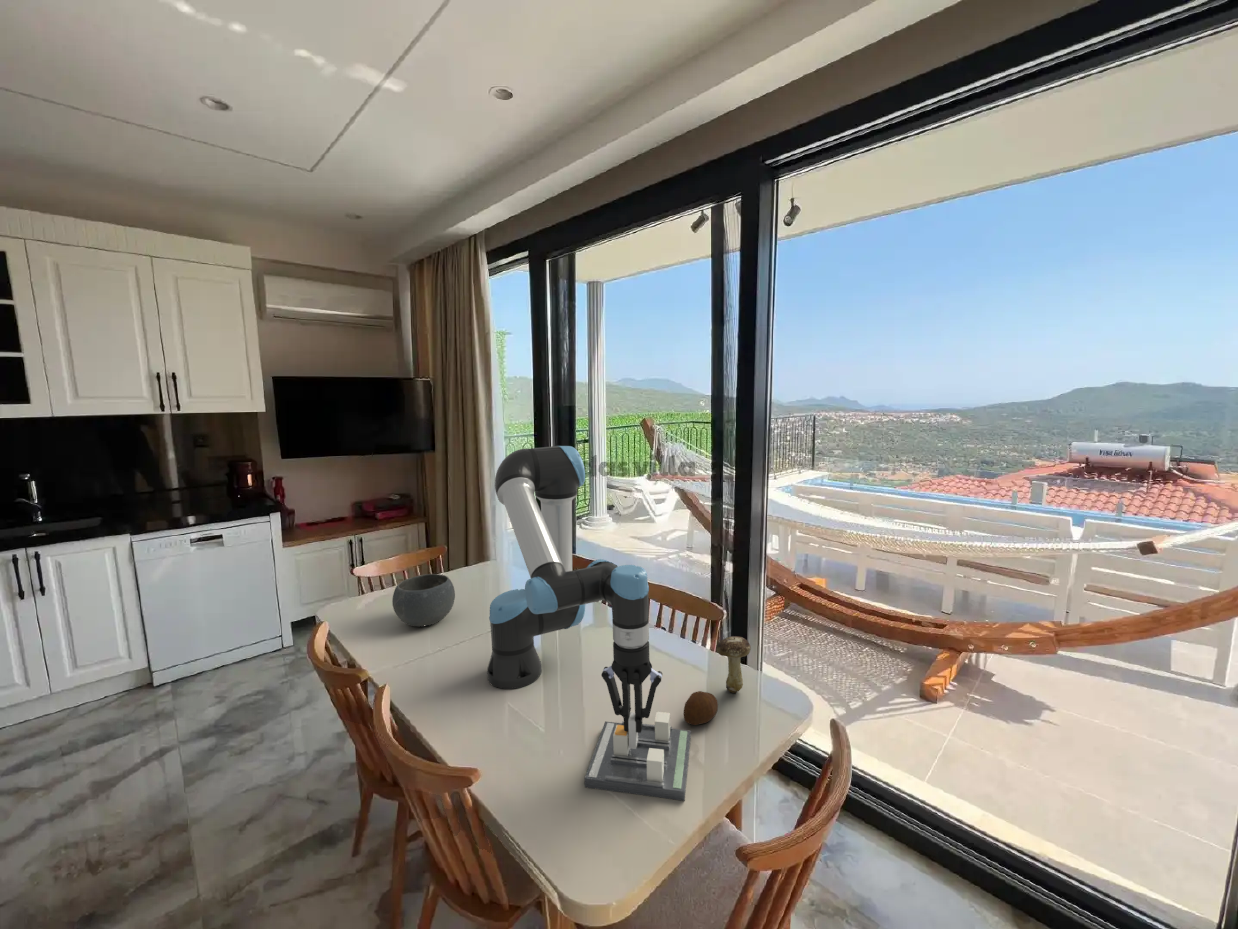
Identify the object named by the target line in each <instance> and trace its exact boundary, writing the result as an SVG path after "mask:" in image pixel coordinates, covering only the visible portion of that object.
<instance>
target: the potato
mask: <svg viewBox="0 0 1238 929" xmlns="http://www.w3.org/2000/svg"><path fill="white" fill-rule="evenodd" d="M718 708H719V704H718V700H717V697H715V695H714V694H713V693H710V692H705V691H702V690H699V691H695V692H693V693H691V694H690V695H689V697H688V698H687V700H686V701H685V703H684V708H683V713H682V714H683V719H684V721H685V722H686V723H687V724H688V725H692V726H697V725H702V724H707V723H708V722H710V721H711V720H713V718H714V717H715V716H716V715H717V712H718Z"/></svg>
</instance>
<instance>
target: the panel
mask: <svg viewBox="0 0 1238 929" xmlns="http://www.w3.org/2000/svg"><path fill="white" fill-rule="evenodd" d="M616 725H624V721H622V722H616V721H615V722H614V721H604V724H603V726H602V729H601V731H600V735H599V736H598V740H597V743H596V746H595V748H594V750H593V753H592V756H591V760H590V762H589V765H588V768H587V771H586V773H585V775H584V788H587V787H588V788H587V789H595V788H596V790H601V791H602V790H604V791H609V792H617V793H623V794H624V793H625V794H631V795H632V794H633V795H639V796H648V797H655V798H661V799H662V798H663V799H670V800H676V801H683V802H685V801H686V791H687V781H688V772H689V771H688V770H689V762H690V761H689V760H690V751H691V750H690V749H691V742H692V740H691V739H692V738H691V736H692V734H691V732H692V731H691V730H687V729H678V728H673V726H670V736H669V741H661V740H655V724H648V723H642V725H643V727H642V731H641V733H638V743H637V747H636V749H632V748H630V749H629V753H628V756H621V755H614V746H613V734H614V731H615V728H616ZM649 748H654V749H663V750H664V774H663V780H662V783H661V782H654V781H647V756H648V751H649Z"/></svg>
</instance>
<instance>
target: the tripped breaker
mask: <svg viewBox="0 0 1238 929" xmlns="http://www.w3.org/2000/svg"><path fill="white" fill-rule="evenodd" d="M613 746H614V755H621V756H628V753H629V749H630V748H629V732H628V731H625V730H624V725H616V728H615V731H614V734H613Z"/></svg>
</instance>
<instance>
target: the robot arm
mask: <svg viewBox="0 0 1238 929" xmlns="http://www.w3.org/2000/svg"><path fill="white" fill-rule="evenodd" d="M585 480H586V470H585V465H584V460H583V458H582V457H581V454H580V452H579V451H578V450H577V448H575V447H573V446H571V445H554V446H544V447H533V448H519V449H517V450H515V451H513V452H511V453H509V454H508V455H507V456H505V458H504V459H503V460H502V461H501V463H500V465H499V466H498V468H497V470H496V473H495V478H494V490H495V493H496V497H497V500H498V501H499V503H501V504H502V505H504V507H505V510H506V513H507V515H508V518H509V521H510V523H511V527H512V529H513V533H514V536H515V537H516V538H515V539H516V540H517V544H518V546H519V549H520V552H521V555H522V557H523V558H522V559H523V561H524V564H525V566H526V569H527V571H528V574H529V577H530V578H529V579H527V580H526V582H525V583H524V584H525V586H524V589H523V588H521V589H518V588H515V589H511V590H508V591H505V592H502V593H501V594H499V595H497V596H496V597H495V598H493V599H492V601H491V603H490V605H489V617H488V619H489V622H490V623H489V624H490V638H491V655H490V658H489V662H488V666H487V669H486V671H487V672H486V677H487V681H489V682H490V683H491V684H492V685H491V684H490V683H489V682H488V683H489V684H490V685H491V686H493V687H495V688H497V687H498V689H503V690H512V689H519V688H522V687H523V688H524V687H526V686H529V685H530V684H532V683H534V682H535V681H537V680H538V679H539V678H540V676H541V675H542V663H541V659H540V657H539V653H538V652H537V649H536V647H535V641H534V640H535V639H534V638H535V637H536V636H540V635H541V636H542V635H545V634H548V633H553V632H556V631H561V630H568V629H570V628H573V627H574V626H578V625H579V624H581V623H582V622H583V619H584V617H585V612H586V605H587V604H588V605H589V604H593V603H597V602H600V601H604V602H606V603H608V604H609V606H610V605H611V613H612V614H611V616H612V619H611V621H612V640H613V642H612V651H613V652H612V653H613V655H612V656H613V659H612V663H611V665H610V666H605V667H604V668H603V669H602V672H601V678H602V679H603V680H604V683H606V687H607V691H608V695H609V698H610V702H611V705H612V708H613V712H614V714H615V715H616V716H621V717H622V718H623V722H624V730H625V731H628V732H629V748H632V749H636V747H637V743H638V733H641V731H642V727H643V725H642V724H643V719H650V718H649V717H650V714H651V710H652V706H653V704H654V703H653V702H654V698H655V694H656V690H657V688H658V686H659V685H660V683H661V682H662V678H663V672H662V671H660V670H658V671H656V670H655V669H654V668H653V665H652V663H651V661H650V642H649V640H650V624H649V623H650V621H649V618H650V617H649V616H650V615H649V612H650V611H649V608H650V607H649V591H650V586H649V583H648V582H649V581H648V572H647V570H646V569H645V568H643V567H642V566H639V565H634V564H623V565H617V564H616V563H613V562H611V561H609V560H607V559H604V558H603V559H601V558H599V559H595V560H594V561H592V562H590V563H589V564H588V565H587V566H586V567H584V568H580V569H574V570H573V500H575V498H576V497H577V495H578V488H581V487H582V486H583V485H584V484H585ZM537 499H538V500H539V501H540V506H539V503H538V501H537ZM615 675H616V676H617V678H618V680H619V681H620V682H621V689H622V700H621V696H620V692H619V688H618V686H617V682H616V677H615ZM649 676H650V677H649ZM648 677H649V681H650V682H651V683H650V688H649V691H648V694H647V695H648V696H647V700H646V703H645V707H643V683H644V681H645V680H646V679H647V678H648ZM631 685H633V691H634V711H631V710H632V707H631Z"/></svg>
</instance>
